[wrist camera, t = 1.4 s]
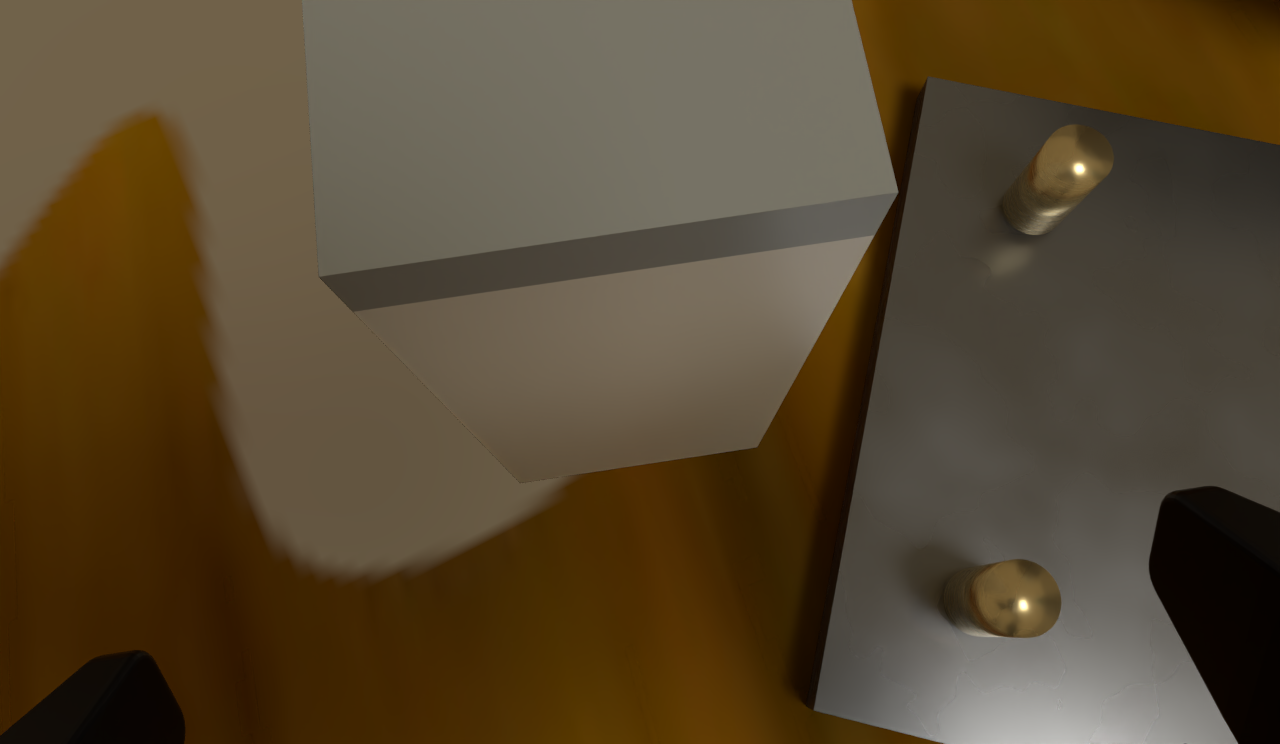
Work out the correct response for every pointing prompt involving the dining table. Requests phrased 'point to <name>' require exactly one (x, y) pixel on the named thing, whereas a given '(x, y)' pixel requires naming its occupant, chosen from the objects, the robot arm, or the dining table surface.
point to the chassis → (1050, 421)
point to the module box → (595, 209)
